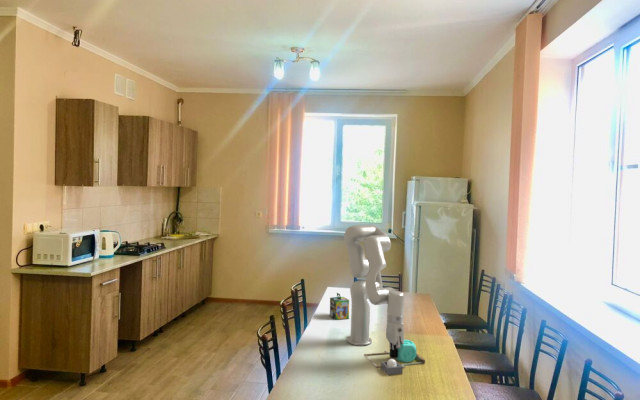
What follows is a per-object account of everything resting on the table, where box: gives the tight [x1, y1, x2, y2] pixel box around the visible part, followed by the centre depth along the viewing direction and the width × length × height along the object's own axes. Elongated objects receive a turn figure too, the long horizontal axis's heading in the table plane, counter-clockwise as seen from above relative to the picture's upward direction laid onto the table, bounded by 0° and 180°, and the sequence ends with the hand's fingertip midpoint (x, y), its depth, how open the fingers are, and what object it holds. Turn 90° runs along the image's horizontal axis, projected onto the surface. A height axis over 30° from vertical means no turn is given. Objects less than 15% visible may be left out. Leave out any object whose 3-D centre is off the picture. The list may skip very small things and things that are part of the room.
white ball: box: [387, 358, 397, 367], centre depth 194 cm, size 4×4×4 cm
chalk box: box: [329, 292, 350, 321], centre depth 269 cm, size 9×9×15 cm
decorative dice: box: [395, 338, 418, 363], centre depth 208 cm, size 8×8×8 cm
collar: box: [380, 359, 404, 376], centre depth 194 cm, size 7×7×3 cm
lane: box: [363, 349, 426, 369], centre depth 207 cm, size 20×24×2 cm
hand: (393, 357), depth 207 cm, fingers closed
